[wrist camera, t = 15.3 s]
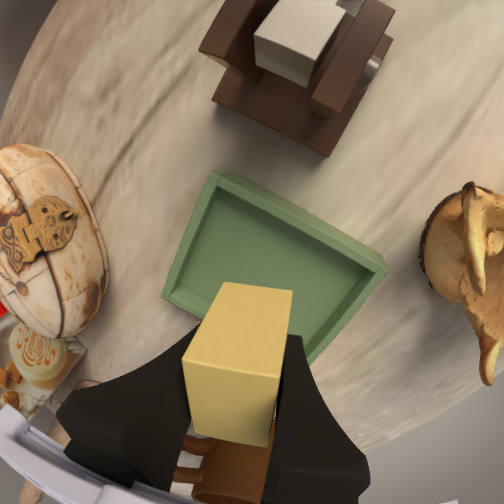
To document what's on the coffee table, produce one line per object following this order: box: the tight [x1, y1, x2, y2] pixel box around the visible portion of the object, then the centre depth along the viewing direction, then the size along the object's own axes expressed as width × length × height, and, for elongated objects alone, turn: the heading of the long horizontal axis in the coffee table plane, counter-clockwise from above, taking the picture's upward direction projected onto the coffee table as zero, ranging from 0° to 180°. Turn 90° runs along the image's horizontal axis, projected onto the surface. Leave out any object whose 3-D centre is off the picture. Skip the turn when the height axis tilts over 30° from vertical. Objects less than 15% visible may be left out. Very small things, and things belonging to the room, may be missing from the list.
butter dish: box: [161, 167, 388, 366], centre depth 19 cm, size 11×9×2 cm
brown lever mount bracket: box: [198, 0, 395, 158], centre depth 11 cm, size 8×7×8 cm
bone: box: [418, 181, 504, 386], centre depth 12 cm, size 12×10×8 cm
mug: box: [172, 420, 275, 504], centre depth 23 cm, size 12×8×9 cm, turn 56°
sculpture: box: [19, 380, 101, 504], centre depth 22 cm, size 14×6×20 cm, turn 142°
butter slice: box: [182, 282, 293, 448], centre depth 11 cm, size 3×4×5 cm, turn 178°
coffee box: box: [0, 311, 87, 422], centre depth 21 cm, size 9×6×16 cm
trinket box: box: [0, 144, 109, 340], centre depth 18 cm, size 13×15×8 cm
